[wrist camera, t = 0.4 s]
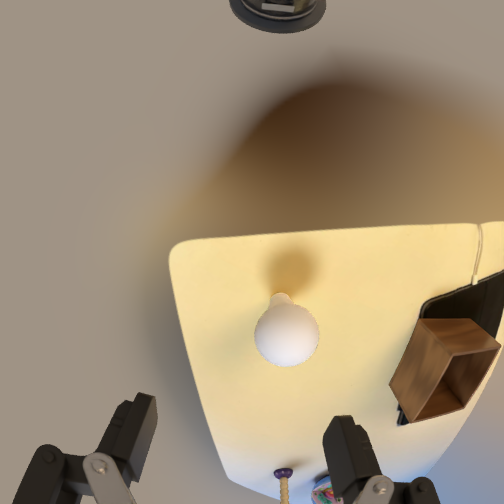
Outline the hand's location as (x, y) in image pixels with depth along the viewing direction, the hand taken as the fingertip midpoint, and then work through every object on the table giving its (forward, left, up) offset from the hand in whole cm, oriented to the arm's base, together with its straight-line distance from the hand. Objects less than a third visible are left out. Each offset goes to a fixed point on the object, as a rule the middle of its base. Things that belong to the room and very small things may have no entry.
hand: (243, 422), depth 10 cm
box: (+12, +32, -22) cm, 41 cm away
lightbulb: (+4, +4, -22) cm, 23 cm away
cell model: (+53, +26, -22) cm, 63 cm away
